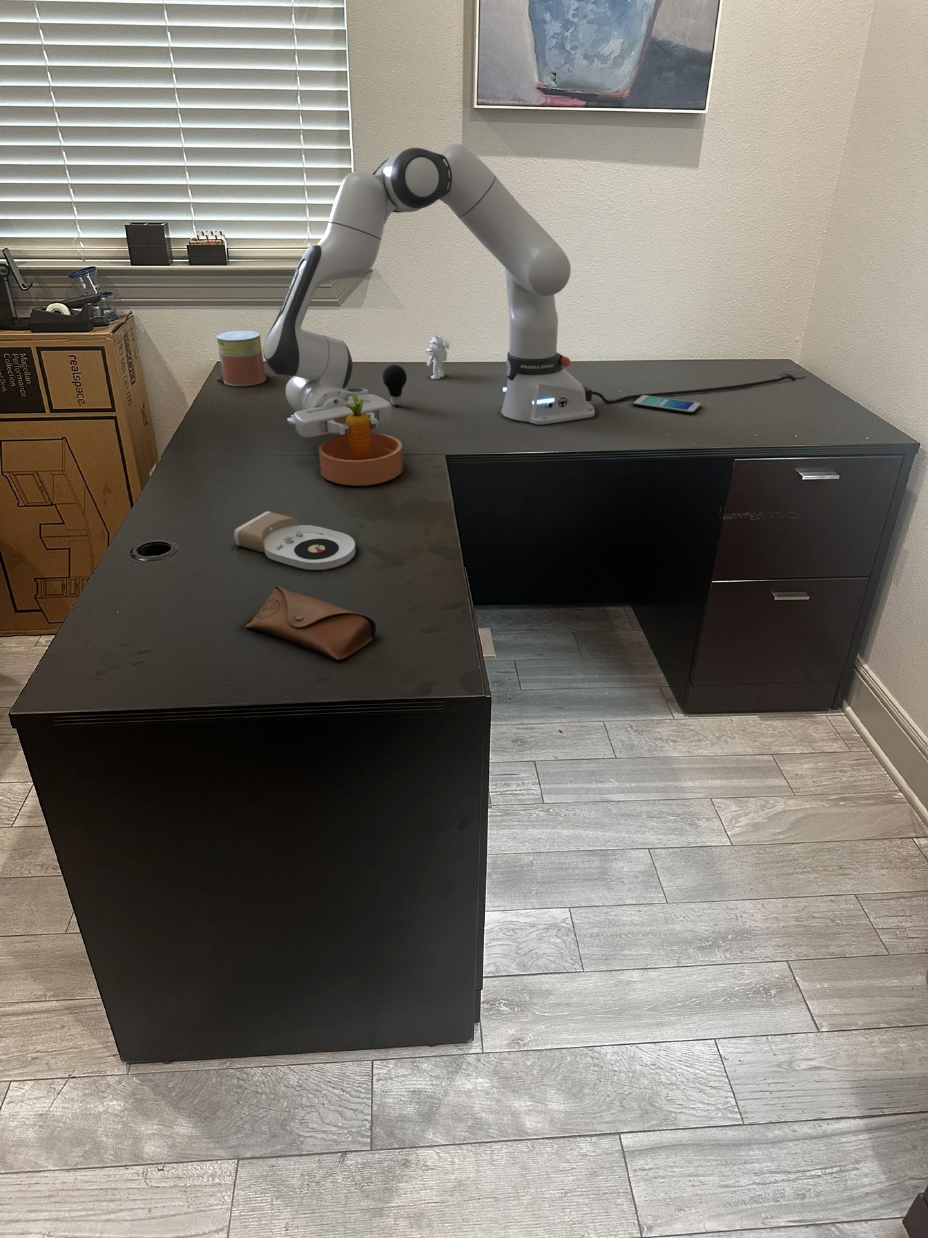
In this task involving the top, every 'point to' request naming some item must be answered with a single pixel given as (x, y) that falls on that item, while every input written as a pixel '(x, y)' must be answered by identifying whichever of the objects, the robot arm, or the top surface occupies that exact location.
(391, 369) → the light bulb
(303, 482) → the top surface
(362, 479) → the pot
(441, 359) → the hat wearing toy figure
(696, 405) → the smartphone
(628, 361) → the top surface
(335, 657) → the sunglasses case
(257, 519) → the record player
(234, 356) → the canned food
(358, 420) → the carrot
